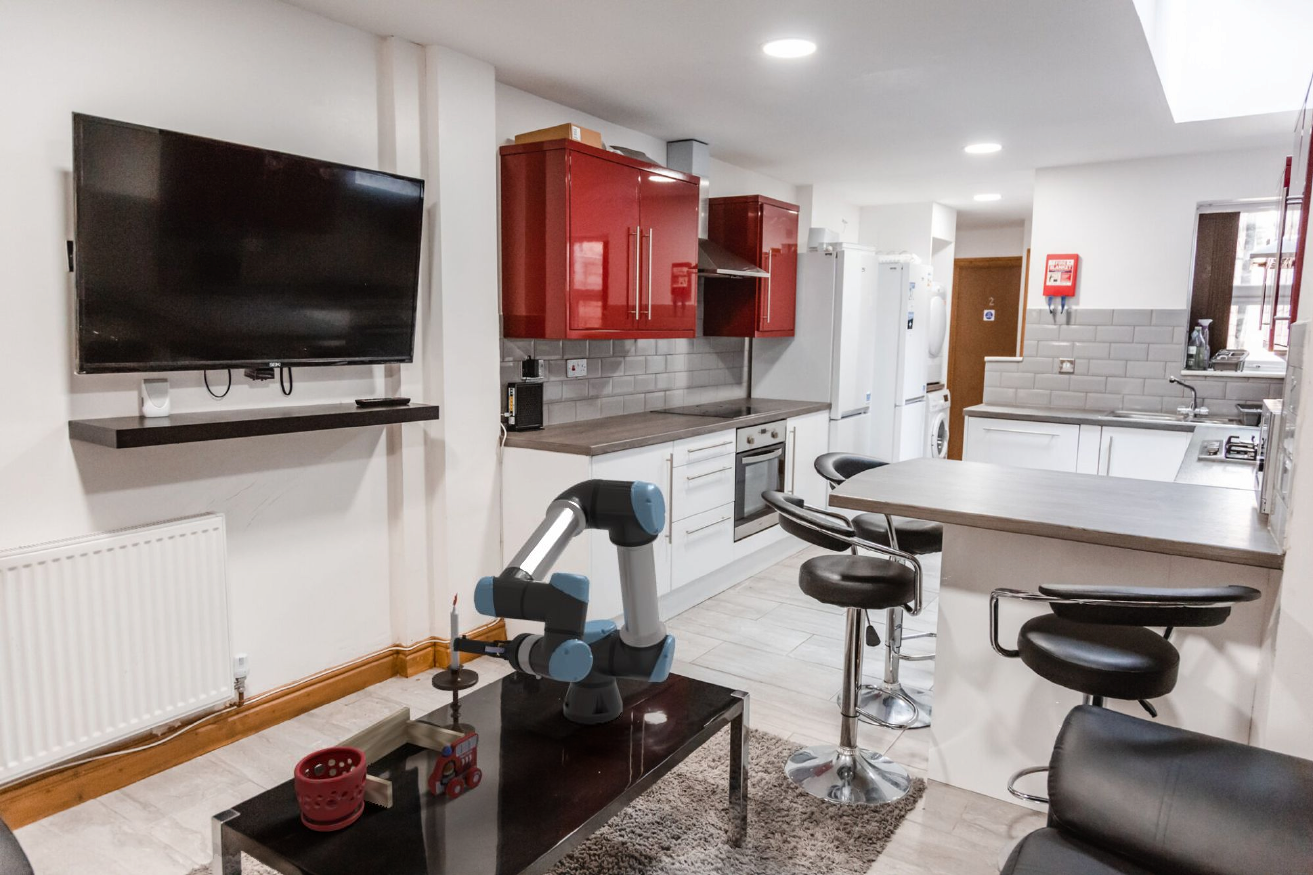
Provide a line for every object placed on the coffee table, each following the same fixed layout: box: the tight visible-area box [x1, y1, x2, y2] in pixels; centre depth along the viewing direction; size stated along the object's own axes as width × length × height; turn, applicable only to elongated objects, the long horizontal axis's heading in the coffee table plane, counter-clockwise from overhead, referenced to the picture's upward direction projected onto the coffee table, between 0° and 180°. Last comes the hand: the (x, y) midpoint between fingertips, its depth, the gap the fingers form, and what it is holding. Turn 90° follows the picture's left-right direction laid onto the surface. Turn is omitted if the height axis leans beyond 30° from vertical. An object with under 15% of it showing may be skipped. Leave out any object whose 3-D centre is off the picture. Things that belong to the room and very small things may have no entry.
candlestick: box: [431, 593, 479, 736], centre depth 195 cm, size 11×11×35 cm
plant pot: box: [293, 746, 368, 832], centre depth 161 cm, size 13×13×12 cm
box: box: [328, 706, 465, 809], centre depth 180 cm, size 17×24×8 cm
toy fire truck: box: [427, 732, 483, 800], centre depth 173 cm, size 7×12×10 cm, turn 146°
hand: (480, 644), depth 175 cm, fingers open, 13 cm apart
